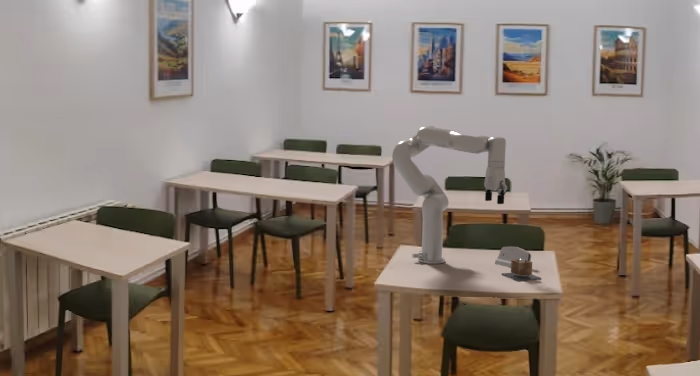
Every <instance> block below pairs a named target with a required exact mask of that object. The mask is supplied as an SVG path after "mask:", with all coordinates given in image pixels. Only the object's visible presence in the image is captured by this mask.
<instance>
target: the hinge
mask: <svg viewBox="0 0 700 376" xmlns="http://www.w3.org/2000/svg"><path fill="white" fill-rule="evenodd" d="M520 258H523V259H525V260H528V261H531V260H532V254H531V253H530V252H529V251H527V250H525V249H523V248H520V247H518V246H502V247H501V249H500V251H499V253H498V257H497V258H496V259H495V262H494V265H498V266H499V265H500V266H503V267H506V268H507V267H508V268H511V260H517V259H520ZM531 262H532V261H531Z"/></svg>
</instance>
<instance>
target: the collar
mask: <svg viewBox="0 0 700 376" xmlns="http://www.w3.org/2000/svg"><path fill="white" fill-rule="evenodd" d="M510 273H514V274H517V275H519V276H520V275H533V261H528V260H525V262H519V259H517V260H511V267H510Z"/></svg>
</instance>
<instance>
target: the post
mask: <svg viewBox="0 0 700 376" xmlns="http://www.w3.org/2000/svg"><path fill="white" fill-rule="evenodd" d="M519 262H525V259H523V258H520V259H519ZM501 275H502V276H504V277H506V278H507V279H511V280H513V281H516V282H522V281H524V282H525V281H536V280H541V279H542V277H541V276H537V275H534V274H532V275H520V276H519V275H517V274H514V273H512V272H503V273H501Z"/></svg>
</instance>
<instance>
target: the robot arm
mask: <svg viewBox="0 0 700 376" xmlns="http://www.w3.org/2000/svg"><path fill="white" fill-rule="evenodd" d="M506 146H507V140H506V138H505V137H501V136H494V137H491V136H485V135H479V136H472V135H465V134H461V133H458V132H456V131H455V130H452V129H447V128H446V129H445V128H438V127H435V126H433V125H426V126H422V127H420V128H418V130H417V133H416V134H415V135H413V136H412V137H411V138H409V139H405V140H401V141H399V142H398V143H396V145H395V146H394V148H393V150H392V162H393V163H392V164H393V165H394V167H395V169H396V170H397V172H398V173H399V174H400V176H401V177H402V178H403V181H404V182H405V183H406V185H407V186H408V187H409V189H410V191H411V192H412V193H413V194H414V195H415V196H418V197H423V199H424V200H423V201H422V204H421V213H422V234H421V236H422V237H421V250H420V251H419V252H418V253H412V255H411V257H412V258H413V259H416V258H417V261H418V262H420V263H423V264H427V265H428V264H430V265H431V264H432V265H440V264H443V263H446V258H444V257H443V235H444V216H443V212H444V211H446V209H448V207H449V204H450V203H449V198H448V196H447V195H446V193H445V192H444V190H443V189H442V188H441V186H440V185H439V184H438V182H437V181H436V180H435V178H433V177H432V175H430V174H425V173H423V172H422V171H421V170H420V169H419V167H418V166H417V165H416V163H415V162H414V161H413V160H412V158H414V157H416V156H417V155H419V154H421V153H422V152H423V151H425V150H427V149H428V148H429V147H436V148H437V147H438V148H444V149H449V150H453V151H458V152H463V153H470V154H476V155H477V154H478V155H479V154H481V153H485V152H487V153H488V154H487V167H486V170H485V176H484V177H485V178H484V181H483V186H484V192H485V193H484V194H485V195H484V200H485V202H491V201H492V200H493V198H492V197H493V191H495V192H497V194H498V195H497V200H496V204H497V205H504V204H505V196H506V192H507V189H508V186H507V185H506V171H505V168H506V167H505V165H506Z"/></svg>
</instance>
